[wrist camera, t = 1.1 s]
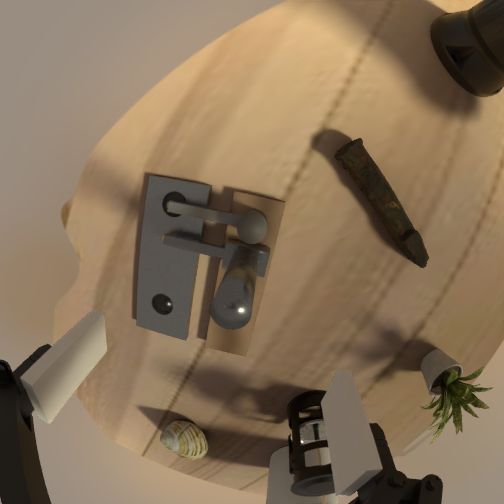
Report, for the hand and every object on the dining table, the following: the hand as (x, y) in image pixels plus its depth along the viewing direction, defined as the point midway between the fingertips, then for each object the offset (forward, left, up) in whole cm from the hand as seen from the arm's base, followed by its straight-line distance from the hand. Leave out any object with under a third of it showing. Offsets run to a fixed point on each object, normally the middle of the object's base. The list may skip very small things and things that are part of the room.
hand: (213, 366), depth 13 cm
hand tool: (-16, -10, -23) cm, 30 cm away
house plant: (-35, +12, -22) cm, 43 cm away
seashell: (+4, +40, -22) cm, 46 cm away
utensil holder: (-21, +44, -22) cm, 54 cm away
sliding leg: (+4, 0, -20) cm, 21 cm away
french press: (-17, +26, -22) cm, 38 cm away
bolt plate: (+10, +4, -22) cm, 24 cm away
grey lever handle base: (+4, +4, -22) cm, 23 cm away
